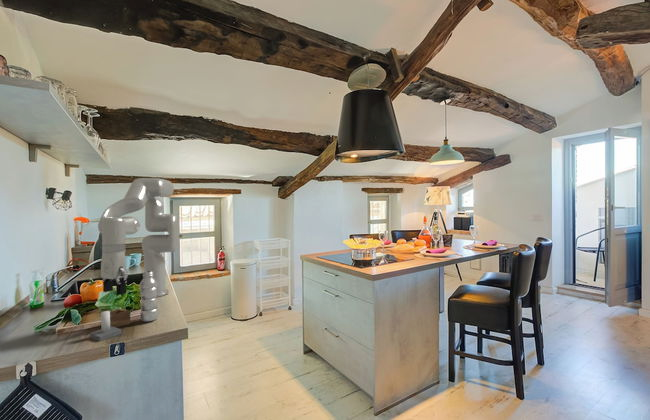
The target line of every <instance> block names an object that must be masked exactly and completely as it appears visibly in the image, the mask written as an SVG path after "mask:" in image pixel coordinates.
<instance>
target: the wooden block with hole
mask: <svg viewBox="0 0 650 420" xmlns="http://www.w3.org/2000/svg"><path fill="white" fill-rule="evenodd" d="M109 311H110V326H113V327H116V328H118V329H119V328H121V327H124V326H127V325H130V324H131V310H129V309H124V308H122V307H121V309H120V308H116V309H114V310H109Z"/></svg>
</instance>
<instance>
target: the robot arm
mask: <svg viewBox="0 0 650 420" xmlns="http://www.w3.org/2000/svg"><path fill="white" fill-rule="evenodd" d="M174 191H175V187H174V184H173V183H172V181H170V180H167V179H165V178H159V177H158V178H157V177H150V178H149V177H141V178H140V177H138V178H136V179H134V180H133V181H132V182H131V184H130V186H129V188H128V190H127V192H126V194H125V195H124V197H123V198H122V199H119V200H117V201H116V202H114V203H112V204H111V205H109V206H108V207H107V208H106V209H105V210H104V211H103V213H102V215H101V217H100V218H99V220H98V223H97V228H98V229H97V230H98V231H99V233H100V234H101V243H102V244H101V245H102V246H101V250H102V251H101V260H100V261H101V262H100V277H101V278H102V288H103V290H102V292H103V293H107V292H112V291H114V283H113V282H114V280H115V281H116V283H117V284H115V285H116V287H115V289H116V296H122V295H124V294H126V293H127V282H128V276H129V272H128V271H127V259H126V250H127V249H126V235H135V234H136V233H138V232H139V231H140V227H141V223H140V221H139V219H138V218H137V217H134V216H126V215H129V214H132V213H135V212H138V211H140V210H142V209H145V210H144V212H145V215H144V217H145V219H144V225H145V229H146V231H148V232H150V233H165V234H148V235H146V236H144V237H143V238H142V240H141V249H142V252H143V264H144V265H143V266H144V268H143V269H144V270H143V272H145V271H153V274H154V276H153V277H154V279H155V280H156V281H157V294H156V298H159V297H163V296H166V295H168V294H169V292H170V291H169V289H167V288H166V260H165V257H164V256H163V255H162V253H174V252H175V253H176V252H177V251H179V247H180V221H179V220H180V219H179V217H178V216H177V214H174V213H164V211H165V210H164V204H163V201H162V200H161V199H160V198H170V197H172V195H173V194H174ZM144 207H145V208H144ZM166 233H167V234H166Z"/></svg>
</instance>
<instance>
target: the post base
mask: <svg viewBox="0 0 650 420" xmlns="http://www.w3.org/2000/svg"><path fill="white" fill-rule="evenodd" d="M110 311H111V310H104V311H101V312H100V323H101V324H100V325H101V329H98V330H96V331H93V332H89V337H90V338H91V339H93V340H96V341H98V342H102V341H105V340H108V339H111V338H114V337H116V336H119V335H122V334H123V333H122V332H123V330H122V329H121V328H119V327H118V328H116V327H113V326H110Z"/></svg>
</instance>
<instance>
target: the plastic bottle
mask: <svg viewBox="0 0 650 420" xmlns="http://www.w3.org/2000/svg"><path fill="white" fill-rule="evenodd" d="M153 276H154V274H153V271H145V272H144V271H143V272H142V277H143V278H142V280H141V281H140V283H139V286H138V287H139V291H140V292H139V293H140V300H141V302H140V303H141V305H140V312H139V318H140V321H142V322H144V323H146V322H153V321H155V320H157V319H158V317H159V309H158V303H157V302H158V301H157V297H156V294H157V281H156V280H155V279H154V277H153Z"/></svg>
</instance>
